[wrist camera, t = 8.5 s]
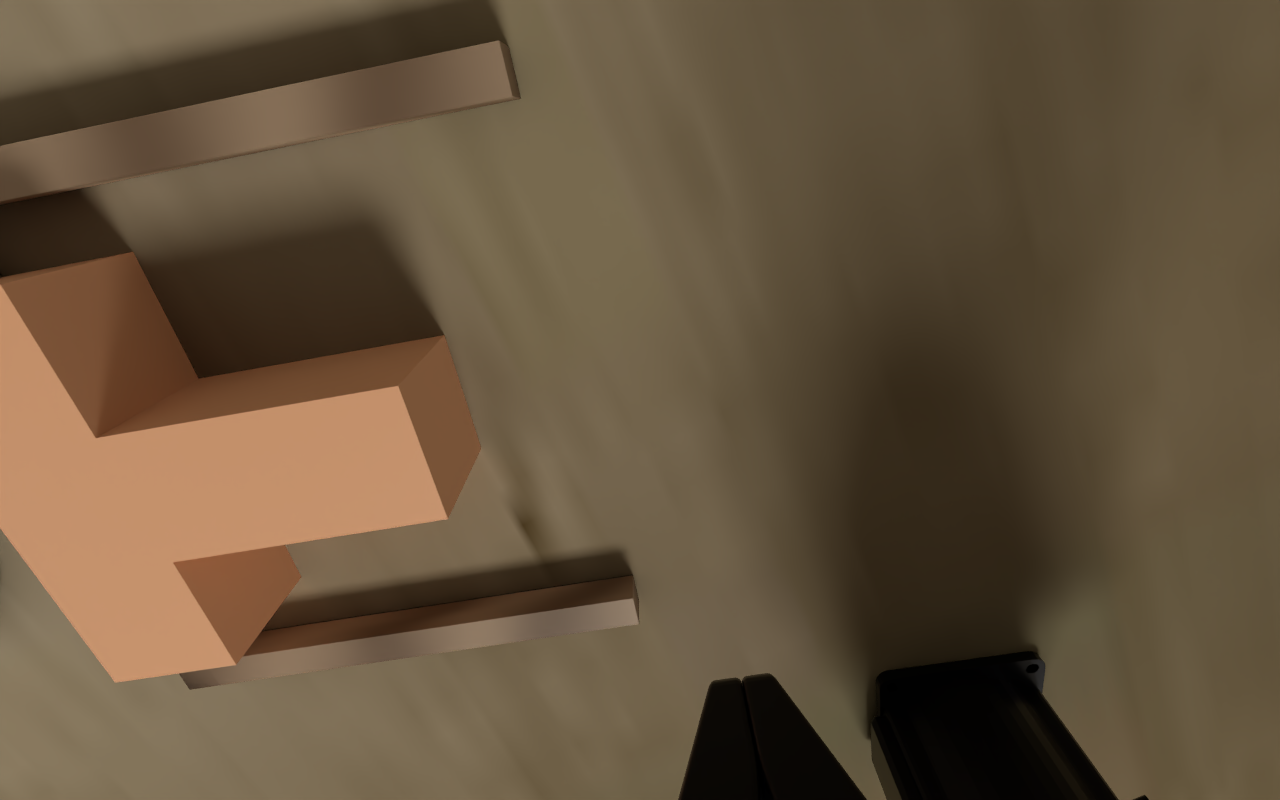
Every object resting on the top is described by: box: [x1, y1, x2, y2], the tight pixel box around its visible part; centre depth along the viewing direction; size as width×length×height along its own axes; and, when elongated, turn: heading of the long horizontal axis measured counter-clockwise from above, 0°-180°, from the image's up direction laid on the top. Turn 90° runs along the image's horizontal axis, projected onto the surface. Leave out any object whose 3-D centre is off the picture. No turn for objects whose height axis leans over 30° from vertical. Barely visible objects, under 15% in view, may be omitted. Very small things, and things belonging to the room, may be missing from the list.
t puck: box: [0, 252, 481, 683], centre depth 18 cm, size 12×12×4 cm
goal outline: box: [0, 40, 639, 689], centre depth 19 cm, size 17×18×1 cm
